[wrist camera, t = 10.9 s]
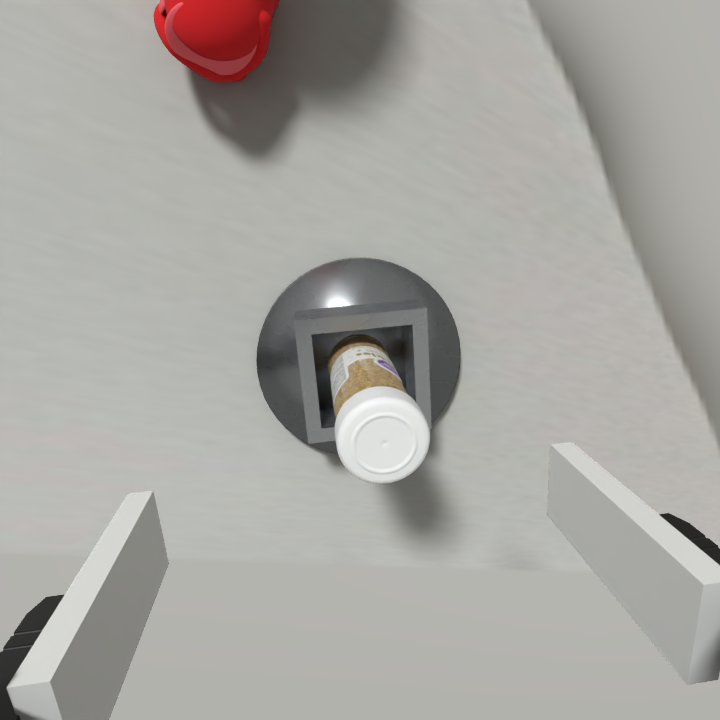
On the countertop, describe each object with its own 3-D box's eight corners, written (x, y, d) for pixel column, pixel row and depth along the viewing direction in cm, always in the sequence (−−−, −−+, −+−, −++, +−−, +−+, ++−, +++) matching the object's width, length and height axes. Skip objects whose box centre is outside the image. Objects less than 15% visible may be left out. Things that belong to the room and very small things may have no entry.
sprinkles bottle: (397, 345, 36) (448, 417, 23) (373, 400, 37) (409, 498, 24) (339, 323, 35) (358, 385, 22) (317, 380, 36) (322, 471, 23)
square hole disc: (271, 459, 38) (267, 490, 34) (244, 267, 34) (235, 274, 30) (458, 438, 39) (476, 465, 35) (454, 248, 35) (474, 253, 31)
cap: (222, 120, 29) (288, 43, 25) (124, 35, 25) (184, -68, 22) (248, 61, 33) (307, -11, 30) (169, -17, 30) (224, -108, 27)
